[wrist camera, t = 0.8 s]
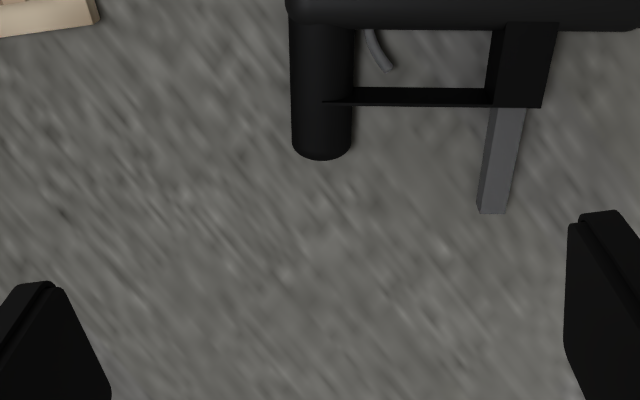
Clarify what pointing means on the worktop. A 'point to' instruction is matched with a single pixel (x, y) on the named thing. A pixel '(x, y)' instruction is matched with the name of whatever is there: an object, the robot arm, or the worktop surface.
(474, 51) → the worktop surface
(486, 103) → the door handle
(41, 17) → the holder
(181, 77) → the worktop surface
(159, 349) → the worktop surface
